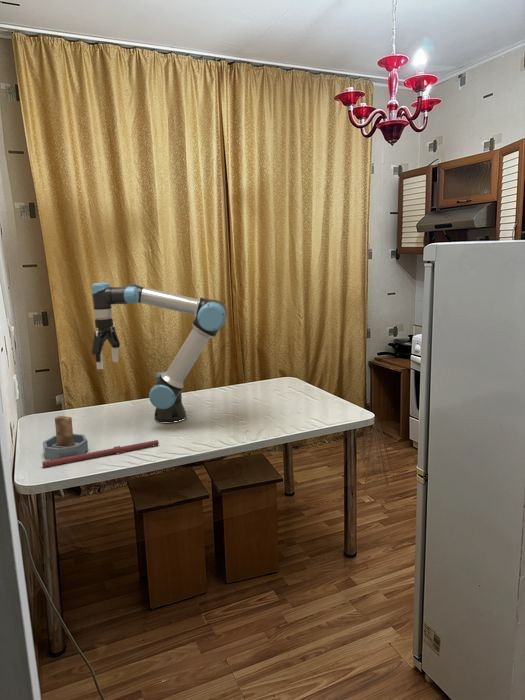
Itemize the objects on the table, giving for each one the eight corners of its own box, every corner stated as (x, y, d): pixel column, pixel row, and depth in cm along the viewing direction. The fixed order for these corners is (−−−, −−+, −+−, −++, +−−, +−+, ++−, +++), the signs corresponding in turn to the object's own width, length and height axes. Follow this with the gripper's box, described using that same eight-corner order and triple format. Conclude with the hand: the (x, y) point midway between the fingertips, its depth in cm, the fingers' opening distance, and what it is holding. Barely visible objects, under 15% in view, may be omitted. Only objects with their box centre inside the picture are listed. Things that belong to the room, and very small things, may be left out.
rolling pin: (157, 444, 216) (156, 437, 215) (159, 447, 213) (159, 440, 213) (42, 466, 195) (41, 459, 195) (43, 469, 193) (42, 462, 192)
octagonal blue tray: (94, 447, 213) (94, 435, 212) (71, 462, 198) (70, 450, 197) (61, 443, 217) (60, 432, 216) (35, 458, 202) (34, 446, 201)
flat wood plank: (74, 449, 208) (71, 417, 205) (70, 452, 205) (67, 419, 203) (61, 448, 209) (58, 415, 206) (57, 450, 207) (54, 417, 204)
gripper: (110, 314, 237) (114, 358, 241) (80, 322, 213) (85, 371, 217) (124, 314, 235) (128, 359, 239) (96, 322, 211) (101, 372, 215)
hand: (108, 365), depth 228 cm, fingers open, 13 cm apart
